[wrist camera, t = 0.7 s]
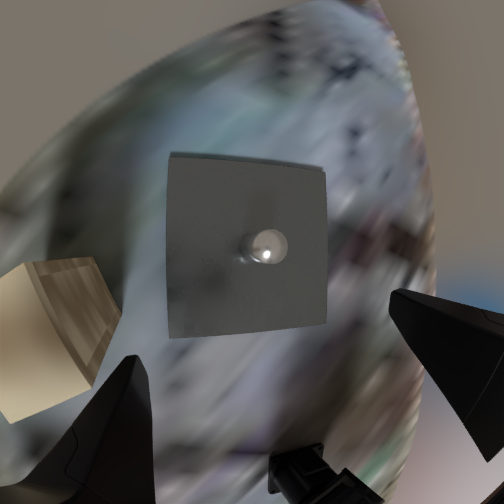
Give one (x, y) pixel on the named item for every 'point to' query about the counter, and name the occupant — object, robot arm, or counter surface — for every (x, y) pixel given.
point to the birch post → (52, 333)
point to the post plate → (216, 254)
